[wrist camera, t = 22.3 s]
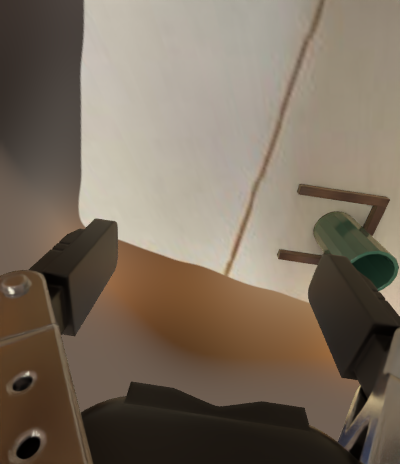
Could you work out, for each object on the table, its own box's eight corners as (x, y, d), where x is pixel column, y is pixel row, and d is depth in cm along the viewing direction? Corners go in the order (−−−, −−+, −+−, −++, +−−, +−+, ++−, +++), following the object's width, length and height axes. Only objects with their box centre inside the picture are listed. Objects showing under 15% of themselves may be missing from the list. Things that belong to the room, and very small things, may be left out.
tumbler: (336, 203, 38) (376, 241, 29) (363, 227, 40) (409, 271, 30) (305, 231, 41) (331, 275, 31) (331, 253, 42) (364, 301, 32)
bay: (277, 255, 43) (278, 259, 42) (299, 183, 37) (301, 186, 36) (352, 267, 43) (355, 270, 42) (386, 196, 37) (390, 199, 36)
